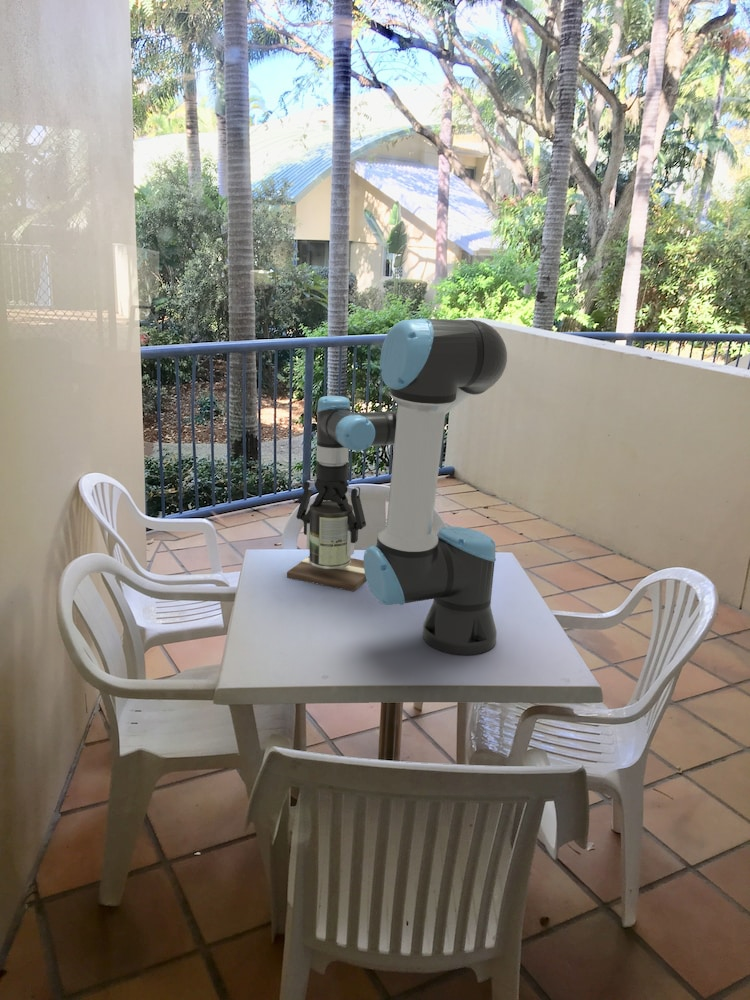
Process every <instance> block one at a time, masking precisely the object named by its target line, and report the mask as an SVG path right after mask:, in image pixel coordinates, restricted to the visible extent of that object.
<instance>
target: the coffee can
mask: <svg viewBox="0 0 750 1000" xmlns="http://www.w3.org/2000/svg"><path fill="white" fill-rule="evenodd" d="M349 506H350V508H351V509H350V510H348V511H342V510H341V508H340V506H338V504H337V502H332V501H330V500H328V501H325V500H323V502H322V503H321V505H319V506H317V507H314V506H312V504H309V509H310V549H309V556H310V557H309V556H308V557H309V558H310V559H309V562H310V564H311V565H313V566H315V567H318V568H322V569H339V568H343V567H346V566H348V565H349V564H350V562H351V560H350V558H352V557H351V556H352V555H351V556H350V557H348V556H347V531H348V530H349V529H350V527H349V525H348V523H347V522H348V514H350V513H351V512H354V510H353V506H352V504H350V503H349Z"/></svg>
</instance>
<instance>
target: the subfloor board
mask: <svg viewBox="0 0 750 1000" xmlns="http://www.w3.org/2000/svg"><path fill="white" fill-rule="evenodd" d="M309 557H310V555H309V556H308V557H307V558H309ZM350 560H351V562H350V564H349V566H354V567H359V568H364V559H360V558H359V559H357V558H352V557H350ZM286 578H288V579H291V578H292V580H296V579H298V581H301V580H303V581H302V582H306V581H308V582H307V583H311V582H314V583H313V584H316V583H318V584H317V585H321V584H323V585H322V586H326V585H327V587H331V588H335V587H336V589H340V588H341V590H346V591H351V592H356V590H358V589H359V588H360V587H361V586H362V585H363V584H364V583H366V582H367V580H366V576H365V574H361V573H356V572H350V571H345V570H340V569H322V568H318V567H315V566H313V565H311V564H309V563H304V562H301V561H300V562H299V563H297V564H296V565H295V566H293V567H292V568H290V569H289V570H288V571H286Z"/></svg>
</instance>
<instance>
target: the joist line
mask: <svg viewBox="0 0 750 1000" xmlns="http://www.w3.org/2000/svg"><path fill="white" fill-rule="evenodd" d="M309 559H310V558H308V557H305V558H304V559H302V560H301V561H300V562H304V563H309V564H310V562H309ZM339 569H340V570H345V571H350V572H356V573H361V574H365V571H364V568H359V567H354V566H349V565H348V566H346V567H343V568H339Z"/></svg>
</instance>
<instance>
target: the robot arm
mask: <svg viewBox="0 0 750 1000" xmlns="http://www.w3.org/2000/svg"><path fill="white" fill-rule="evenodd" d="M380 352H381V353H380V359H379V360H380V361H379V367H380V368H379V369H380V370H381V373H380V376H381V379H382V381H383V384H385V386H387V388H389V389H390V396H391V398H392V399H393V400H394V401H395V402H396V404H397V409H396V410H392V411H390V410H389V411H372V412H369V411H367V412H353V411H352V410H351V409H352V408H351V402H350V398H348V397H346V396H340V395H326V396H325V395H324V396H322V397H319V399H318V400H317V410H316V418H317V419H316V458H315V459H316V462H317V463H316V467H315V473H316V474H315V476H316V478H315V479H316V480H312V479H308V480H306V481H305V482H303V493H302V496H301V501H300V504H299V507H298V510H297V513H296V519H297V520H301V521H302V522H303V534H304V535H305V536H306V549H307V550H310V508H309V506H310V501H311V498H312V494H313V491H314V490H316V491H317V492H318V494H317V496H316V497H315V499H314V500H313V503H311V505H312V506H314V507H317V506H319V505H321V503H322V502H323V501H332V502H337V504H338V506H340V508H341V510H342V511H348V510H350V509H351V508H350V506H349V504H350V503H349V501H348V500H349V498H348V497H347V495H346V494H347V493H348V494H349V496H350V501H351V506H352V507H353V511H352V512H351V513H350V514H348V522H347V523H348V525H349V527H350V529H349V530H348V531H347V556H348V557H350V556H352V555H354V554H355V544H356V543H357V542H358V539H359V530H362V529H364V528H365V527H366V526H367V522H366V519H365V514H364V510H363V505H362V502H361V498H360V497H361V496H360V495H361V488H360V487H359V486H356V487H353V486H350V485H349V483H348V480H349V464H348V462H349V450H352V451H354V452H361V451H364V450H366V449H367V448H368V449H369V447H375V446H376V447H377V446H392V445H393V453H392V454H393V455H392V463H391V465H392V466H391V475H390V484H389V485H390V486H389V488H390V489H389V496H388V506H387V507H388V508H387V517H386V525H385V526H384V527H382V528H381V529H379V531H378V532H377V539H376V545H370V546H368V547H367V548H366V550H365V551H364V554H363V560H364V571H365V576H366V582H367V585H368V588H369V590H370V592H371V594H372V596H373V598H374V599H376V601H377V602H378V603H380V604H381V605H384V606H395V605H399V606H402V605H405V604H409V603H416V602H422V601H428V600H433V601H432V604H431V606H430V609H429V611H428V613H427V615H426V618H425V619H424V620H425V621H424V622H423V627H422V637H423V640H424V641H425V642H426V643H427V644H428V645H429V646H431V648H434V649H436V650H438V651H440V652H441V651H442V652H444V653H448V654H455V655H463V656H466V655H467V656H469V655H478V654H483V653H485V652H488V651H490V650H492V648H494V646H495V645H496V643H497V633H498V632H497V628H496V623H495V620H494V615H493V612H492V611H493V610H492V606H491V605H492V604H491V603H492V593H493V583H494V571H495V563H496V561H497V560H496V559H497V558H496V542H495V541H494V539H493V538H492V537H490V536H489V535H488V534H485V533H483V532H482V531H478V530H475V529H473V528H467V527H460V526H444V527H442V528H440V529H439V530H438V532H437V534H435V532H434V531H433V521H434V512H435V503H436V495H437V488H438V479H439V478H438V477H439V470H440V463H441V455H442V445H443V438H444V428H445V420H446V415H447V414H449V412H451V411H452V410H453V409H455V408H457V406H459V405H461V403H463V402H464V401H465V400H467V399H468V398H470V397H471V396H478V395H480V394H484V393H485V392H486V391H488V390H489V389H491V388H492V387H493V386H494V385H495V384H496V383H497V382H498V381H499V380H500V378H502V376H503V374H504V372H505V370H506V367H507V362H508V352H507V346H506V344H505V341H504V339H503V337H502V336H501V334H500V333H499V332H498V331H497V330H496V329H495V328H494V327H493V326H491V325H489V324H488V323H486V322H483V321H481V320H477V319H476V320H475V319H465V320H464V319H443V318H442V319H440V318H439V319H438V318H422V317H419V318H415V319H404V320H403V319H402V320H400V321H398V322H396V323H395V324H394V325H393V326H392V327H391V329H390V330H389V331H388V333H387V334H386V335H385V338H384V341H383V344H382V348H381V351H380ZM308 508H309V509H308ZM350 558H351V557H350Z"/></svg>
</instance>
